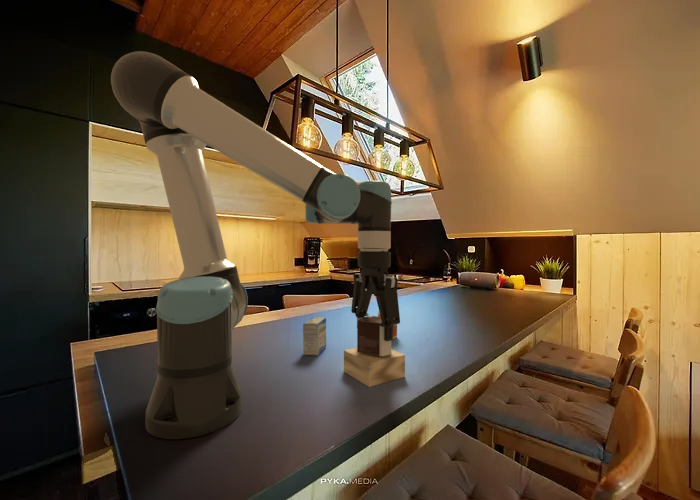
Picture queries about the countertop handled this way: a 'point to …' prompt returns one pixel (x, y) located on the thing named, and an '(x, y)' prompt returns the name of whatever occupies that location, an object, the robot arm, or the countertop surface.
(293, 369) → the countertop surface
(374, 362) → the beech block
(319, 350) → the medicine box
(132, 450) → the countertop surface
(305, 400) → the countertop surface
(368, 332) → the box
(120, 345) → the countertop surface
